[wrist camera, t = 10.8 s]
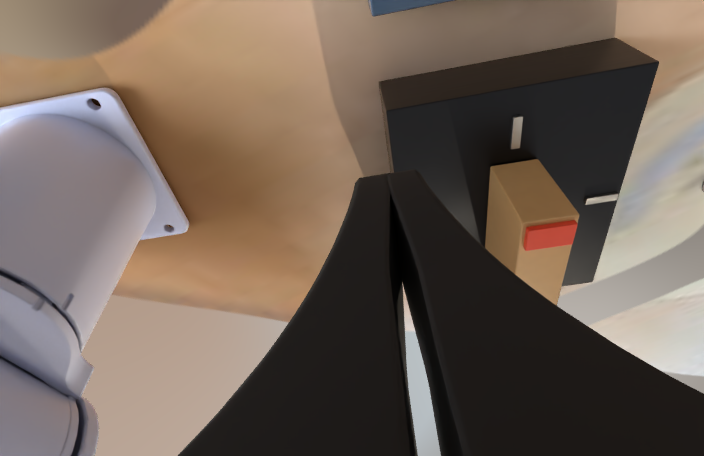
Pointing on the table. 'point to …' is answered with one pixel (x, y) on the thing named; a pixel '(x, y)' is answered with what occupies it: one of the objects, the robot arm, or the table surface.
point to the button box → (398, 5)
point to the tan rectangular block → (530, 225)
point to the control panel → (525, 131)
